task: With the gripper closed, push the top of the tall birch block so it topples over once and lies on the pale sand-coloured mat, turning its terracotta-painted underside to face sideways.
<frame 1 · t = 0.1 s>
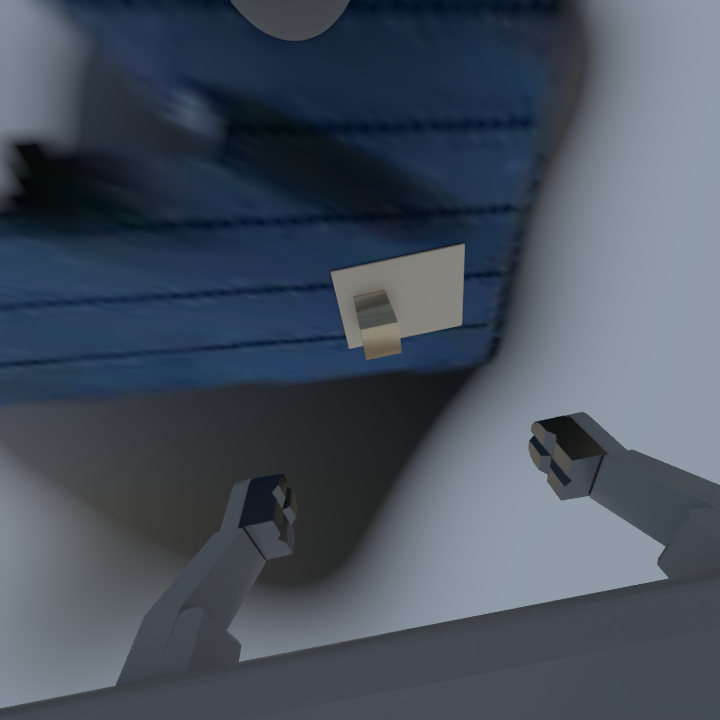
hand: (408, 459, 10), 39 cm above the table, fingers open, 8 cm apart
birch block: (371, 307, 49), resting on sand mat
sand mat: (401, 299, 50), on the table
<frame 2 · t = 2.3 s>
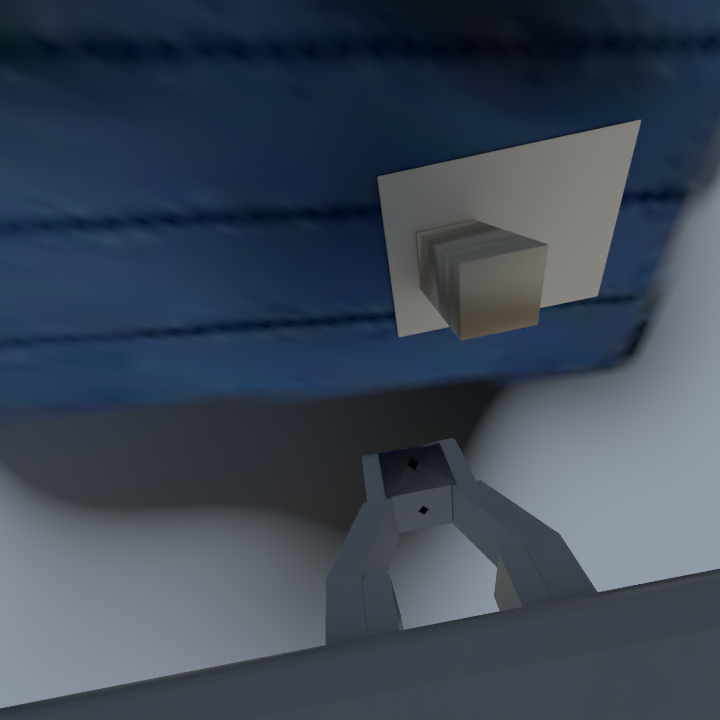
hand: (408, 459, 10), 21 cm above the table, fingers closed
birch block: (446, 256, 27), resting on sand mat
sand mat: (499, 243, 27), on the table
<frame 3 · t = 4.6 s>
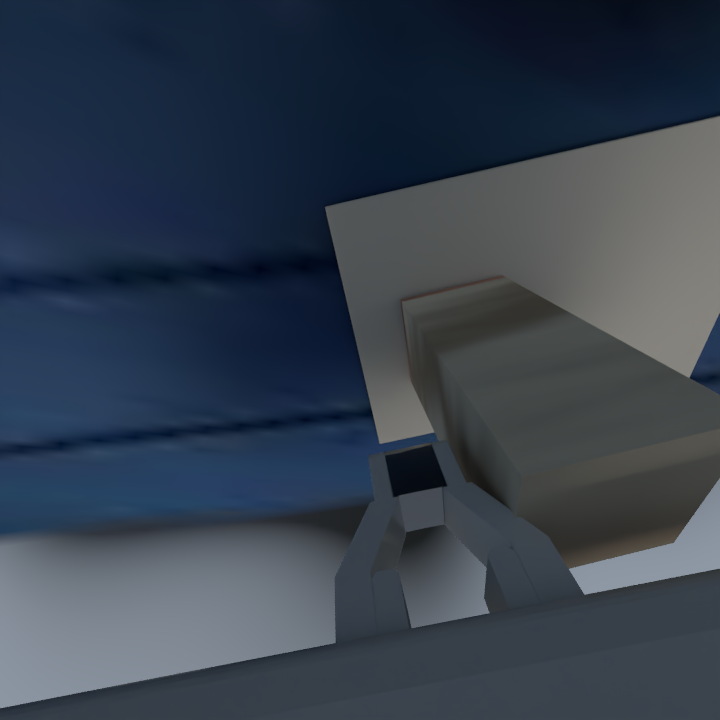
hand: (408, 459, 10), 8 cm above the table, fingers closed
birch block: (452, 333, 16), point 1 cm above the table, touching gripper, sand mat
sand mat: (541, 307, 16), on the table
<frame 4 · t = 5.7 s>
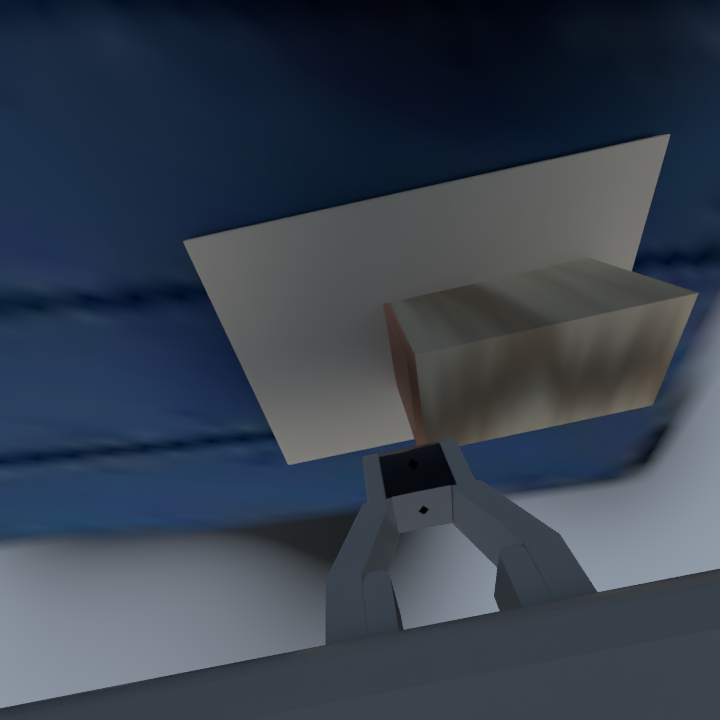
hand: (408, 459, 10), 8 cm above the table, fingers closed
birch block: (400, 374, 14), point 3 cm above the table, tilted 90°, touching sand mat
sand mat: (430, 334, 16), on the table
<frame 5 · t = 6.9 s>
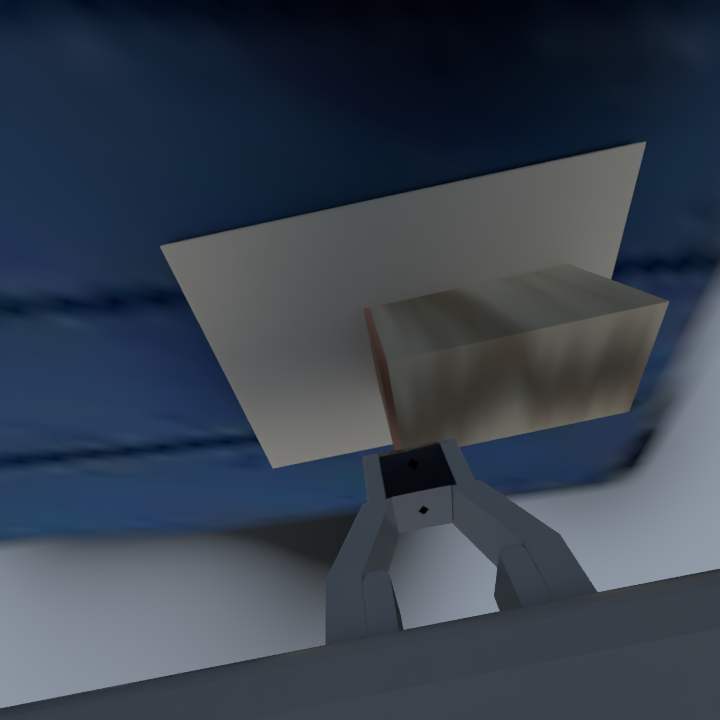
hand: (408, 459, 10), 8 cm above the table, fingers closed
birch block: (379, 380, 14), point 3 cm above the table, tilted 90°, touching sand mat
sand mat: (412, 339, 16), on the table
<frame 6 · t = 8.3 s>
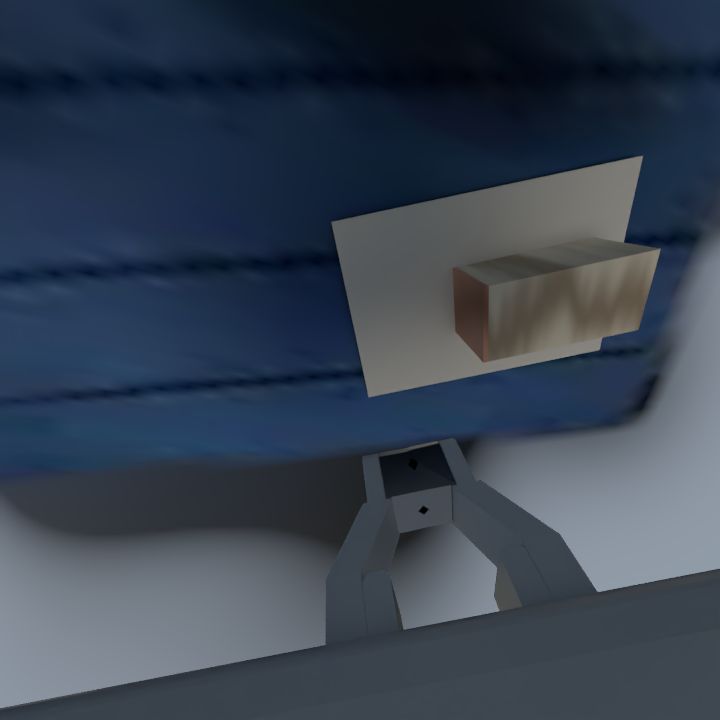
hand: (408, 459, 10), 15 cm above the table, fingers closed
birch block: (467, 313, 21), point 3 cm above the table, tilted 90°, touching sand mat
sand mat: (481, 293, 23), on the table
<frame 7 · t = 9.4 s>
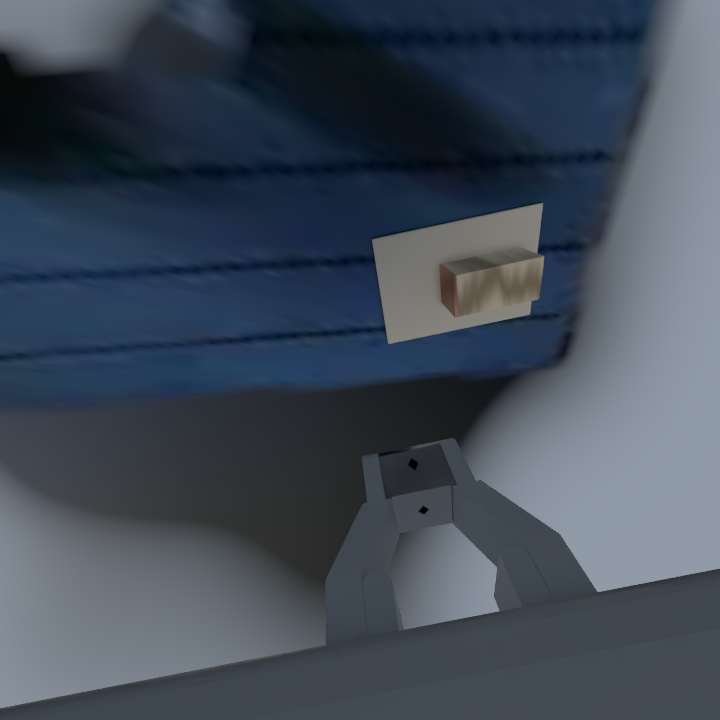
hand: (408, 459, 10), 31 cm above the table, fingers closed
birch block: (446, 290, 37), point 3 cm above the table, tilted 90°, touching sand mat
sand mat: (456, 279, 39), on the table
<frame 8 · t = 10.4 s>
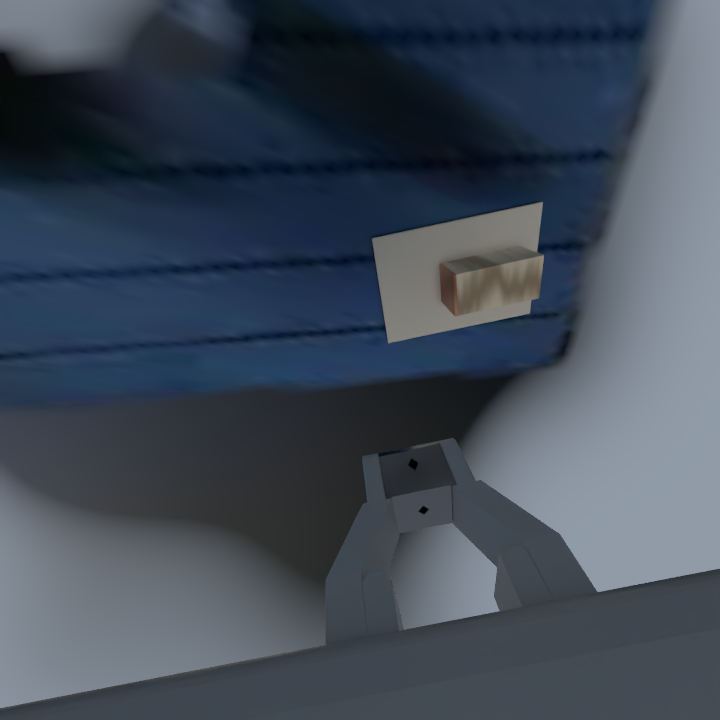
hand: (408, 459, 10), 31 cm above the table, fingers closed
birch block: (446, 289, 37), point 3 cm above the table, tilted 90°, touching sand mat
sand mat: (456, 278, 39), on the table
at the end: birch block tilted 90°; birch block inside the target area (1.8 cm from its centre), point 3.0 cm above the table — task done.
